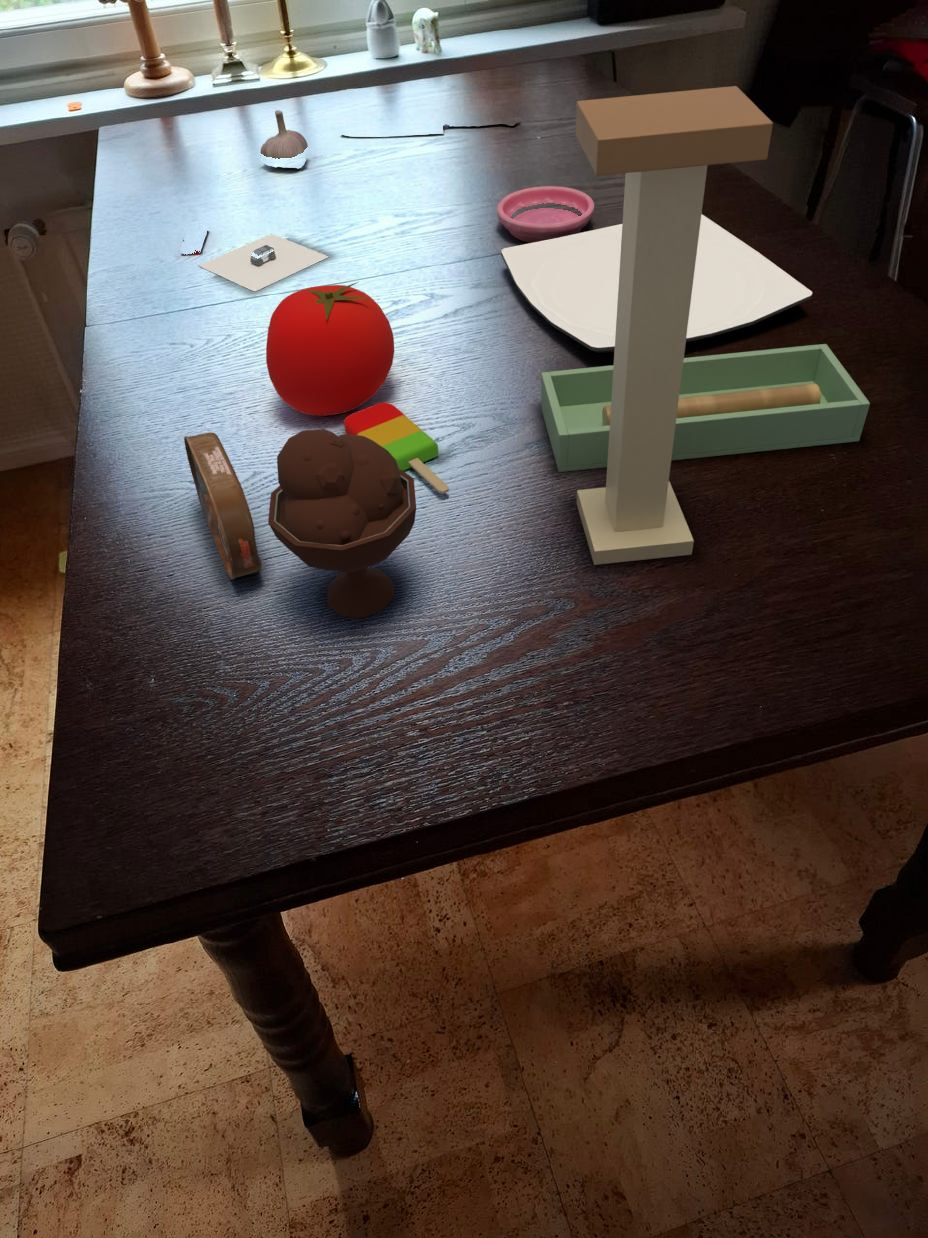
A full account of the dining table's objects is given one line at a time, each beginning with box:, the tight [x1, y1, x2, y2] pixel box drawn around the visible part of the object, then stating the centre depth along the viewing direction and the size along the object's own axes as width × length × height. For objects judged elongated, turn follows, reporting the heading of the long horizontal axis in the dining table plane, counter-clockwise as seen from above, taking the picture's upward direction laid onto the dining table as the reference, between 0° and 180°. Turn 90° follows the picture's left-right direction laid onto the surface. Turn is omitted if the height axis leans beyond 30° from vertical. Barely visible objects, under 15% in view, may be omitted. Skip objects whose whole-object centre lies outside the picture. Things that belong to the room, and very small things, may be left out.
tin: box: [183, 432, 262, 580], centre depth 76 cm, size 15×3×8 cm, turn 24°
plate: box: [500, 213, 813, 354], centre depth 105 cm, size 29×29×3 cm
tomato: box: [265, 281, 395, 417], centre depth 90 cm, size 12×14×11 cm
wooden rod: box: [602, 384, 821, 426], centre depth 86 cm, size 20×2×2 cm, turn 96°
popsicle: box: [343, 401, 450, 495], centre depth 85 cm, size 6×15×2 cm, turn 33°
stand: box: [575, 85, 774, 566], centre depth 65 cm, size 10×8×32 cm
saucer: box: [496, 185, 595, 243], centre depth 119 cm, size 12×12×3 cm
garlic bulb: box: [260, 109, 309, 159], centre depth 138 cm, size 8×7×8 cm
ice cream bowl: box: [267, 428, 417, 619], centre depth 68 cm, size 11×11×15 cm
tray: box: [540, 343, 871, 473], centre depth 85 cm, size 28×11×4 cm, turn 95°
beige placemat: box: [198, 233, 330, 292], centre depth 117 cm, size 12×12×2 cm
